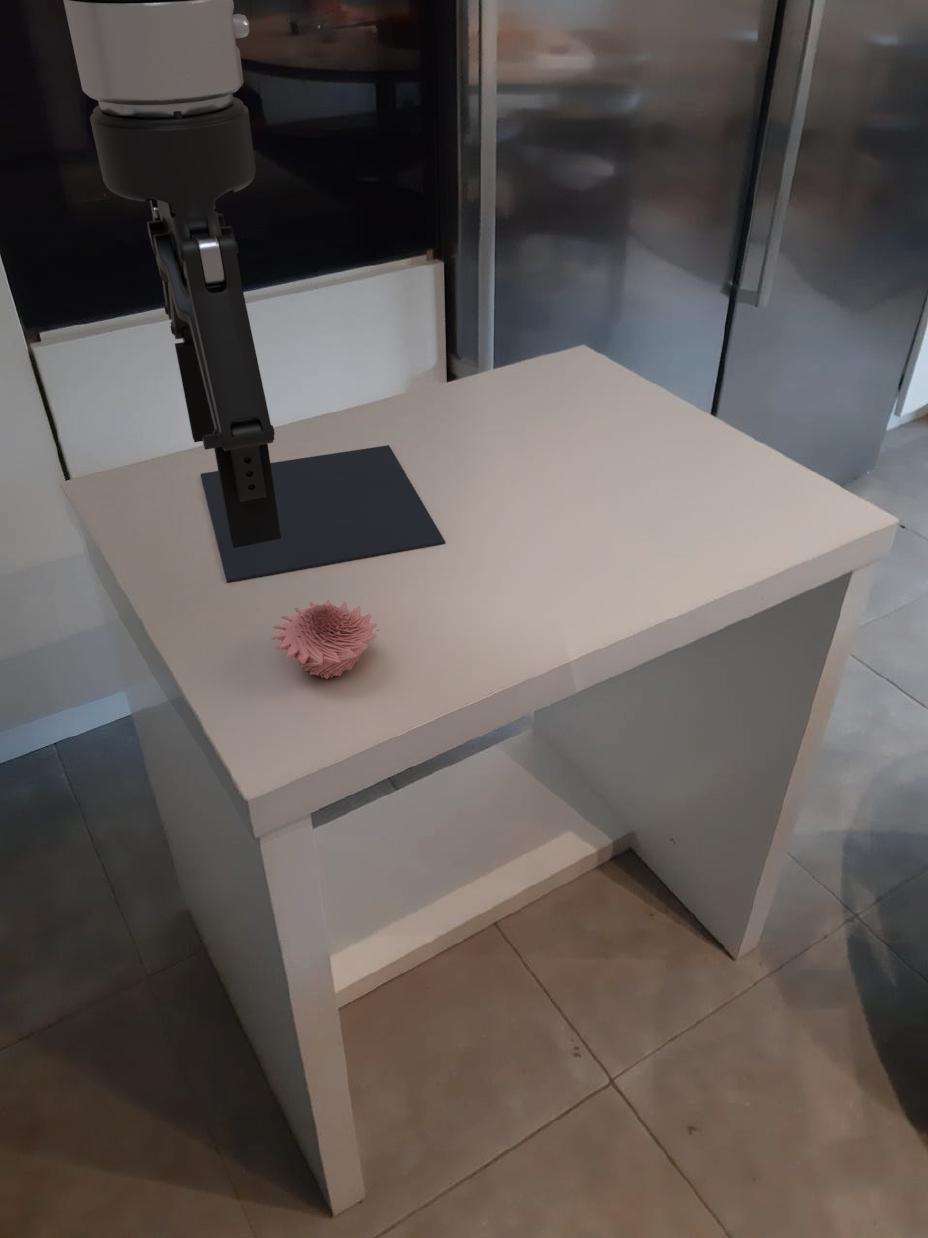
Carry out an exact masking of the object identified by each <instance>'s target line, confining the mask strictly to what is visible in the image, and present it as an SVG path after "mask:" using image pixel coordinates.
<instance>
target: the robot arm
mask: <svg viewBox="0 0 928 1238" xmlns="http://www.w3.org/2000/svg"><path fill="white" fill-rule="evenodd" d="M63 5H64V6H63V7H64V10H65V15H66V19H67V23H68V29H69V33H70V38H71V43H72V47H73V53H74V56H75V57H74V58H75V61H76V62H75V63H76V67H77V71H78V77H79V80H80V85H81V90H82V91H83V93H84V94H85V95H87V96H88V97H89V98H90V99H93V100H95V101H98V105H97V106H95V107H94V108H93V110H92V113H91V115H90V116H89V120H90V124H91V130H92V135H93V140H94V143H95V149H96V153H97V158H98V161H99V166H100V171H101V177H102V181H103V183H104V185H105V186H106V188H107V189H108V190H109V191H110V192H112V193H113V194H115V195H117V196H119V197H121V198H124V199H128V200H132V201H136V202H137V201H138V202H149V203H150V211H151V215H152V220H151V221H147V222H146V224H147V232H148V237H149V240H150V244H151V248H152V252H153V254H154V255H155V260H156V265H157V267H158V272H159V276H160V280H161V282H162V289H163V296H164V303H165V305H164V306H163V308H164V313H165V315H167V316H168V320H169V321H170V325H169V327H170V332H171V334H172V335H173V336H174V339H175V340H181V339H182V342H176V343H174V347H175V353H176V358H177V363H178V369H179V373H180V379H181V384H182V390H183V394H184V399H185V406H186V409H187V415H188V420H189V421H188V422H189V425H190V430H191V431H190V432H191V435H192V436H191V437H192V439H193V442H194V443H199V442H202V445H203V448H204V450H205V451H206V450H214V455H215V461H216V466H217V471H218V472H219V478H220V483H221V489H222V494H223V500H224V506H225V511H226V517H227V522H228V528H229V533H230V539H231V543H232V546H233V548H237V547H242V546H247V545H252V544H257V543H262V542H266V541H271V540H276V539H281V534H280V527H279V520H278V513H277V506H276V499H275V492H274V485H273V478H272V471H271V464H270V463H271V458H270V450H269V444H273V443H274V440H275V429H274V426H273V425H272V423H271V420H270V419H271V418H270V413H269V410H268V404H267V400H266V395H265V390H264V385H263V384H264V383H263V381H262V380H263V379H262V376H261V375H262V374H261V370H260V365H259V361H258V356H257V351H256V347H255V342H254V338H253V331H252V328H251V323H250V318H249V313H248V308H247V304H246V299H245V294H244V289H243V284H242V283H243V282H242V278H241V271H240V264H239V258H238V254H239V252H240V251H239V246H238V242H237V241H236V238H235V234H234V230H233V227H232V226H231V225H230V226H227V225H226V220H225V217H224V215H223V213H218V211H217V208H216V201H217V200H219V198H220V197H222V196H223V195H225V194H227V193H230V194H233V193H236V192H239V191H241V190H243V189H245V188H246V187H248V186H249V185H250V184H251V183H252V182H253V180H254V178H255V176H256V172H257V171H256V170H257V169H256V168H257V167H256V161H255V160H256V159H255V152H254V144H253V137H252V130H251V129H252V128H251V122H250V113H249V107H247V105H245V104H244V102H243V100H242V99H239V98H237V97H235V96H233V95H234V93H236V92H237V91H239V89H241V88H242V86H243V85H244V81H245V80H244V75H243V67H242V59H241V53H240V52H241V51H240V49H239V47H238V46H237V41H236V39H243V38H246V37H247V36H249V34H250V22H249V20H248V18H247V17H246V15H245V14H241V13H235V14H234V9H235V4H234V0H63Z"/></svg>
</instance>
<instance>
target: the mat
mask: <svg viewBox="0 0 928 1238" xmlns="http://www.w3.org/2000/svg"><path fill="white" fill-rule="evenodd" d="M270 464H271V471H272V478H273V485H274V492H275V499H276V506H277V513H278V520H279V527H280V534H281V539H276V540H271V541H266V542H262V543H257V544H252V545H247V546H242V547H237V548H233V546H232V543H231V539H230V533H229V528H228V522H227V517H226V511H225V506H224V500H223V494H222V489H221V483H220V478H219V472H218V470H214V471H207V472H202V473H200V478H201V482H202V487H203V491H204V494H205V499H206V503H207V507H208V510H209V516H210V520H211V524H212V528H213V532H214V536H215V541H216V543H217V547H218V552H219V556H220V559H221V565H222V568H223V573H224V576H225V580H226V583H227V584H228V583H233V582H238V581H239V582H240V581H244V580H245V581H246V580H249V579H255V578H262V577H266V576H272V575H277V574H285V573H289V572H294V571H295V572H296V571H301V570H306V569H310V568H316V567H317V568H318V567H321V566H328V565H333V564H340V563H344V562H350V561H355V560H361V559H366V558H373V557H378V556H383V555H388V554H395V553H401V552H405V551H411V550H416V549H422V548H429V547H433V546H438V545H444V544H446V540H445V539H444V537H443V535H442V534H441V531H440V530H439V529H438V527H437V525H436V523H435V521H434V519H433V518H432V516H431V514H430V512H429V511H428V509H427V507H426V505H425V504H424V502H423V501H422V499H421V497H420V496H419V494H418V492H417V491H416V489H415V487H414V485H413V484H412V482H411V480H410V479H409V477H408V475H407V473H406V471H405V470H404V468H403V467H402V464H401V463H400V461H399V460H398V458H397V456H396V455H395V453H394V451H393V450H392V447H391V446H390V445H389V444H387V445H379V446H374V447H367V448H361V449H354V450H347V451H341V452H340V451H339V452H333V453H327V454H321V455H314V456H313V455H312V456H308V457H301V458H295V459H288V460H281V461H274V462H270Z"/></svg>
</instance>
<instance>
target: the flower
mask: <svg viewBox="0 0 928 1238" xmlns="http://www.w3.org/2000/svg"><path fill="white" fill-rule="evenodd" d="M309 606H310V607H306V608H305V609H299V608H297V607H294V608H293V610H294V611H295V612H296V613H297V614H292V615H289V616H284V615H282V616H280V617H281V619H282V620H286V621H288V622H287V623H284V624H280V625H274V626H273V627H272V628H273V629H274V630H281V631H282V633H280V634H279V635H276V636H273V637H271V640H279V641H281V643H280V645H279V646H278V647H276V648H275V650H276V651H279V650H287V655H286V659H290V658H293V659H295V660H296V661H297V662H298V665H300V666H301V669H303V670H304V671H305V672H309V676H314V675H315V676H316V677H319V676H320V678H321V679H323V678H325V680H328V679H329V678H333V677H341V675H343V672H349V671H352V669H353V666H354V665H355V663H358V662H359V661H360V657H361V655H362V653H363V652H364V651H366V650H367V649H369V648H370V647H371V645H369V643H370V642H371V641H372V640H374V639H375V638H376V637H377V636H378V634H376V633H372V632H373V631H374V629H375V628H376V627H377V626H378V624H377V623H376V622H375V623H370V621H371V619H372V613H367V614H364V615H361V605H358V606H356V607H355V608H353V609H352V610H351V611H350V609H349V606H348V604H347V602H346V601H345V600H344V601H343V602H342V603H341V605H339V606H337V605H335V604H333V603H332V602H331V601H330V600H329V599H328V600H326V603H322V605H320V604H315V603H313V602H312V601H309Z"/></svg>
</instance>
